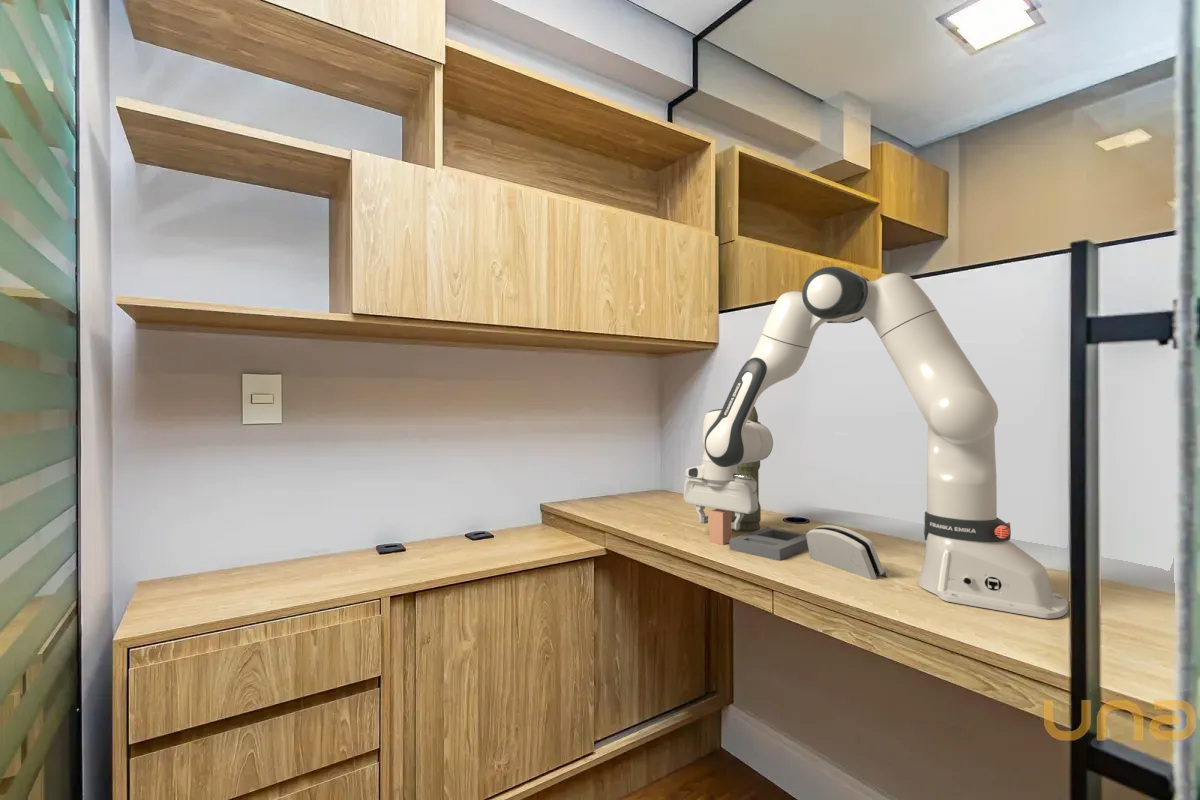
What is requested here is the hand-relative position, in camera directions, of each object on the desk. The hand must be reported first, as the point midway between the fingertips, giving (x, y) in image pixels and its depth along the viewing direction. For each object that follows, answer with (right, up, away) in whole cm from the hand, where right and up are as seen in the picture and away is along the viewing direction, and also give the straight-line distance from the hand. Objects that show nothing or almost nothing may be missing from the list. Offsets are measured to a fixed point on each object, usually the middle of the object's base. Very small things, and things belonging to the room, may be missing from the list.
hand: (719, 526), depth 139 cm
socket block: (+12, -4, -5) cm, 14 cm away
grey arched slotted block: (+22, -4, -22) cm, 31 cm away
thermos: (+10, -4, +15) cm, 19 cm away
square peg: (0, -4, 0) cm, 4 cm away
